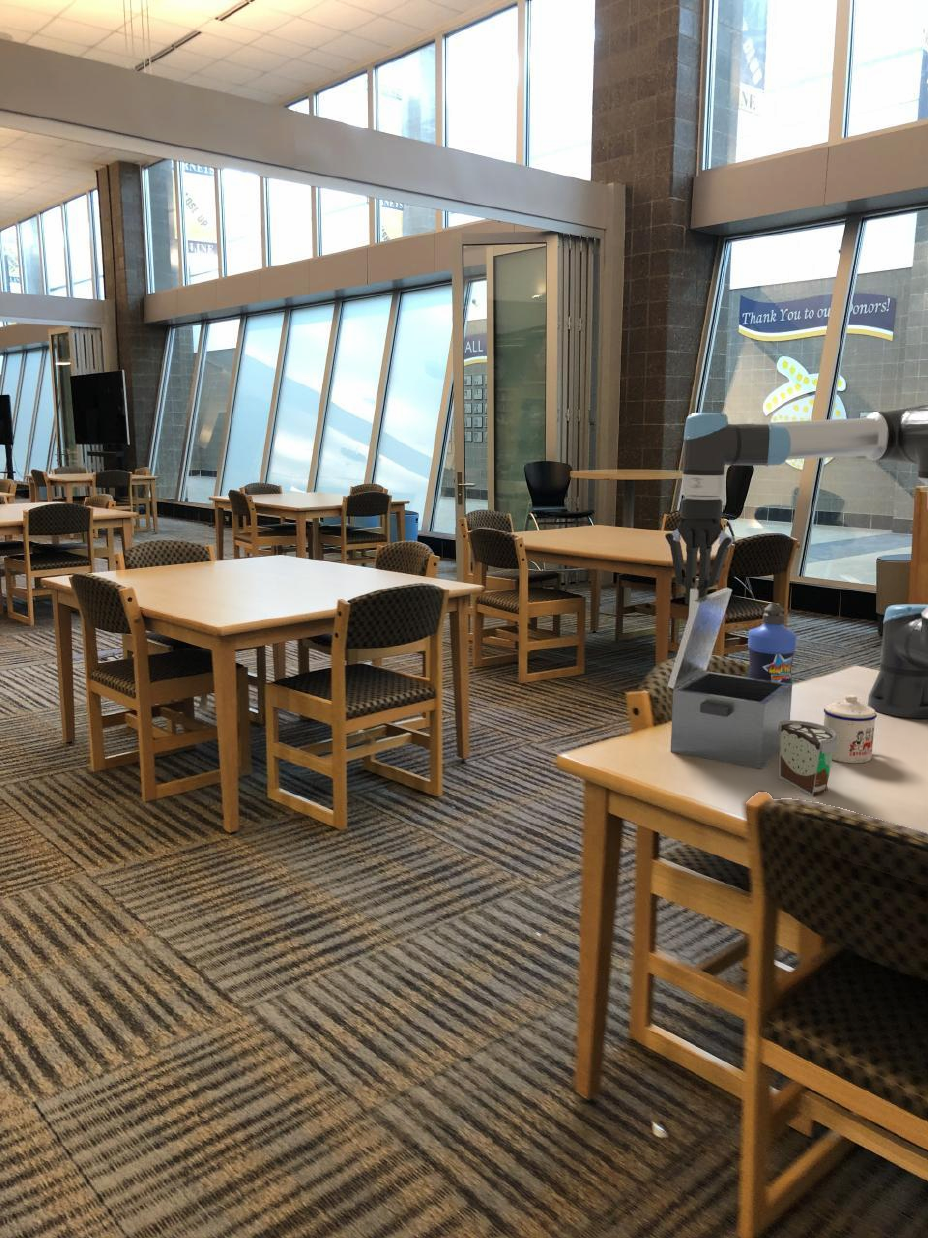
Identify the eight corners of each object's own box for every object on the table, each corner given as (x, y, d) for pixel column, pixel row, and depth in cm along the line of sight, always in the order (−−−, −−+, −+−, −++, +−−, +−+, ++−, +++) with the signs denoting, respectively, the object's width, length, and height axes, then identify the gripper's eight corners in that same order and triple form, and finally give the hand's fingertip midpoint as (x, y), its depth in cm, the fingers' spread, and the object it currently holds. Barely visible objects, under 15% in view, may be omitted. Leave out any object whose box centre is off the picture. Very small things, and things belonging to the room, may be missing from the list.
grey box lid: (732, 589, 188) (716, 584, 189) (699, 602, 174) (683, 596, 175) (706, 669, 194) (691, 663, 195) (673, 688, 179) (657, 682, 181)
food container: (850, 795, 160) (855, 738, 158) (818, 799, 159) (823, 741, 157) (804, 770, 172) (808, 716, 170) (774, 774, 170) (778, 719, 168)
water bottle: (799, 727, 197) (808, 607, 192) (758, 731, 194) (766, 609, 189) (774, 714, 205) (782, 599, 201) (734, 717, 203) (741, 600, 198)
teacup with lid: (855, 768, 173) (861, 705, 171) (810, 754, 180) (815, 694, 178) (890, 754, 181) (896, 694, 178) (845, 742, 188) (850, 684, 185)
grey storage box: (790, 741, 188) (794, 681, 186) (757, 772, 171) (761, 707, 169) (706, 726, 197) (709, 669, 195) (666, 754, 180) (669, 692, 178)
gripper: (661, 497, 180) (654, 621, 184) (729, 500, 173) (721, 629, 177) (676, 494, 186) (670, 615, 191) (742, 498, 179) (734, 622, 183)
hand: (694, 621), depth 184 cm, fingers closed
